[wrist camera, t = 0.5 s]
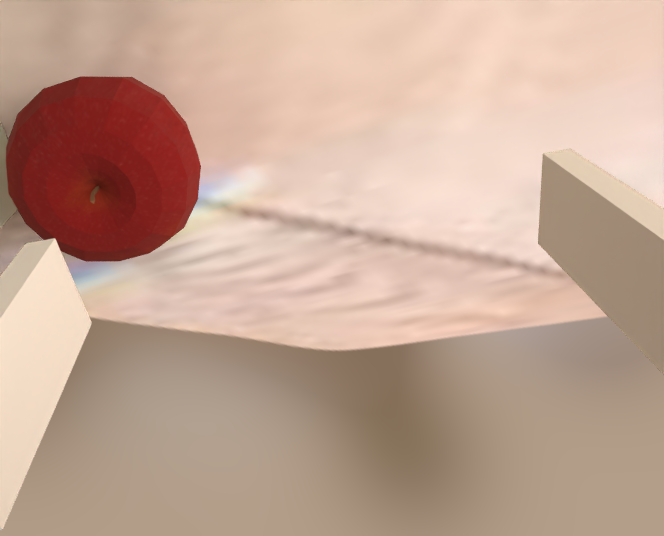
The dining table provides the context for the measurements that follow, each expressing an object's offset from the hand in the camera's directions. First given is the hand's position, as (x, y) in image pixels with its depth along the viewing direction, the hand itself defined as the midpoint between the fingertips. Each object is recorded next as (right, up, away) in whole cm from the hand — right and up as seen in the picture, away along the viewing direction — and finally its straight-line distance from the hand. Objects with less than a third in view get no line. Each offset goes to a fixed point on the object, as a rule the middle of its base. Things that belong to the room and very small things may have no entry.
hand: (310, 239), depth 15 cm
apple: (-14, +8, +24) cm, 29 cm away
